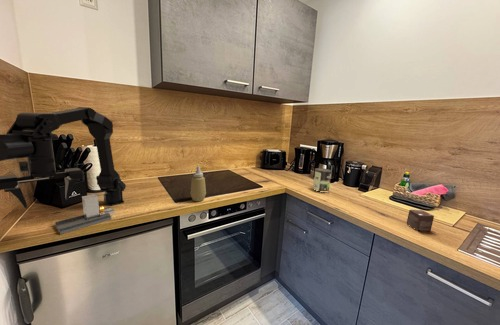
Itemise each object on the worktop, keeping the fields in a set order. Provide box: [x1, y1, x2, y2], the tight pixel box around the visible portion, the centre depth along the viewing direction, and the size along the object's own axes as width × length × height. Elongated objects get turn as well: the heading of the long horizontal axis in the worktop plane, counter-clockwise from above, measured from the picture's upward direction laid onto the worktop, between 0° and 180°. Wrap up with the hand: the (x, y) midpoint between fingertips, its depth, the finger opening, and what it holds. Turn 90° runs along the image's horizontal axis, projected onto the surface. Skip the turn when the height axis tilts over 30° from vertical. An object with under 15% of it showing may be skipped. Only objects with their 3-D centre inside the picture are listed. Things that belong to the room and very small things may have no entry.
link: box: [81, 193, 116, 220], centre depth 78 cm, size 9×5×8 cm, turn 143°
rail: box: [54, 205, 112, 235], centre depth 75 cm, size 15×9×4 cm, turn 143°
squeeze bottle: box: [189, 165, 207, 202], centre depth 102 cm, size 8×8×18 cm
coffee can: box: [312, 167, 333, 192], centre depth 130 cm, size 10×10×14 cm
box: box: [406, 209, 435, 232], centre depth 85 cm, size 6×6×7 cm
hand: (47, 203), depth 63 cm, fingers open, 9 cm apart
